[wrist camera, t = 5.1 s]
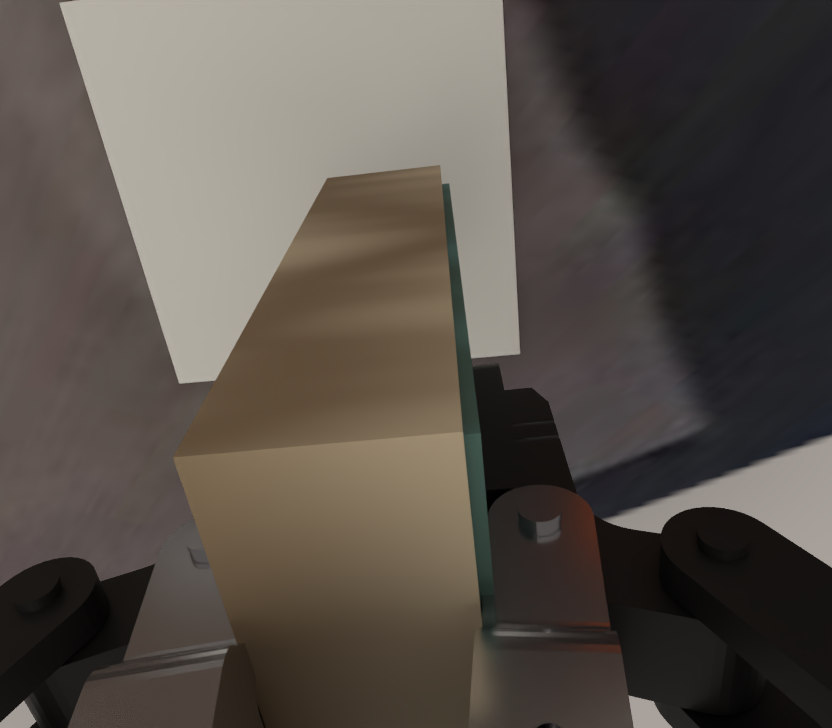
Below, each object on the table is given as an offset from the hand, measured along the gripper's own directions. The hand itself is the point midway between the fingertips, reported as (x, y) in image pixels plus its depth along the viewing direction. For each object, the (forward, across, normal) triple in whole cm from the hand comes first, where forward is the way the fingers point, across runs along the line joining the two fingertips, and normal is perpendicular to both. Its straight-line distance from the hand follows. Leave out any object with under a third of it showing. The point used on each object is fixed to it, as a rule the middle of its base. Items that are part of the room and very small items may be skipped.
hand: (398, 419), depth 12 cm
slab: (+4, 0, 0) cm, 4 cm away
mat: (+18, +4, 0) cm, 18 cm away
